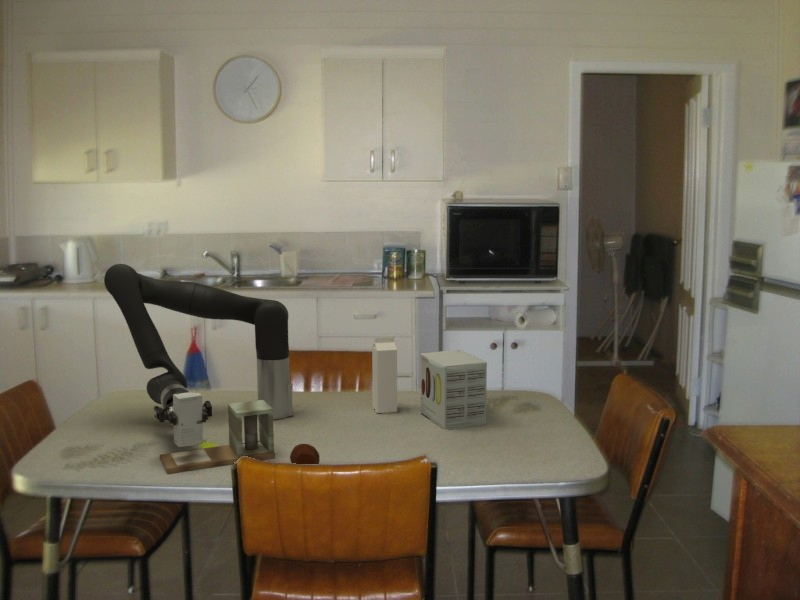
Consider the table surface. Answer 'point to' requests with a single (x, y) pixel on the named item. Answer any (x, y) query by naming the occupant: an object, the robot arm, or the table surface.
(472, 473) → the table surface
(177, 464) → the board
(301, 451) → the potato
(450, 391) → the supplement box
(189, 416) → the skincare box
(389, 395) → the milk
